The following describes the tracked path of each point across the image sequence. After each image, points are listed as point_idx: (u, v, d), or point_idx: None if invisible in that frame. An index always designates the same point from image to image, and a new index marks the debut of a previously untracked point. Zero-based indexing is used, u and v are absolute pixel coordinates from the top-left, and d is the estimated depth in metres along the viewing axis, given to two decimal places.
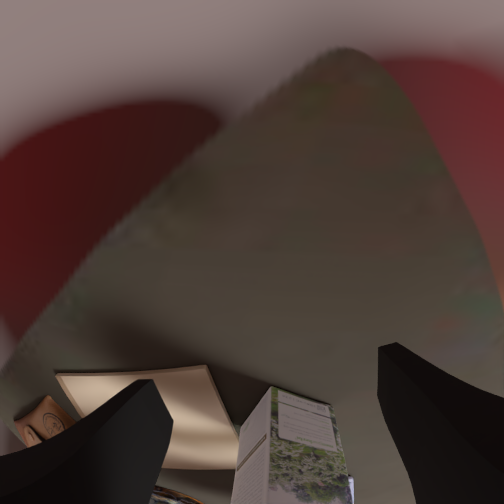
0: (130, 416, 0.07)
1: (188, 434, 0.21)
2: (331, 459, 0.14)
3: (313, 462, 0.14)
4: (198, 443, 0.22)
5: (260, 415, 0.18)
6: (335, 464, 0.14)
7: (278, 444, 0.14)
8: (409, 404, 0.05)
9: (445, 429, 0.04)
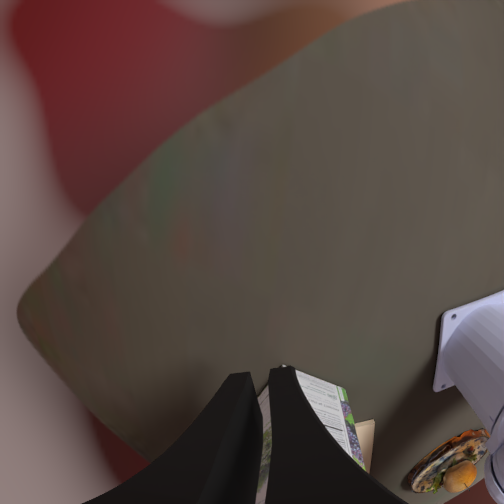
0: (242, 416, 0.06)
1: None
2: (270, 434, 0.14)
3: None
4: None
5: None
6: None
7: None
8: None
9: None
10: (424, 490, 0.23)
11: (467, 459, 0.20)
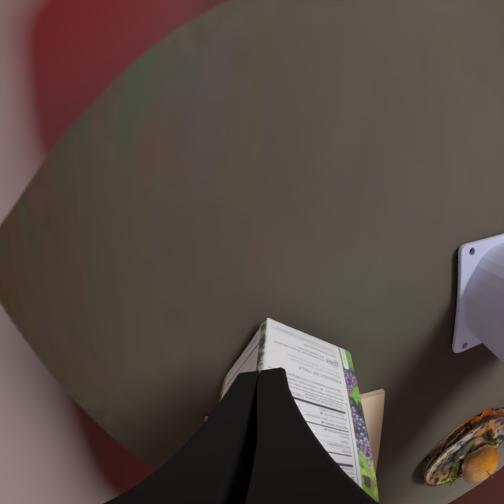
0: (252, 414, 0.06)
1: None
2: None
3: None
4: None
5: None
6: None
7: None
8: None
9: None
10: (438, 482, 0.20)
11: (488, 443, 0.17)
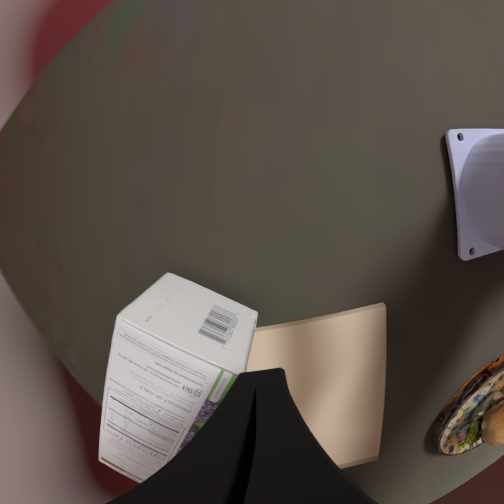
0: (253, 414, 0.06)
1: (297, 381, 0.17)
2: None
3: None
4: (317, 372, 0.17)
5: None
6: None
7: None
8: None
9: None
10: (453, 452, 0.18)
11: None
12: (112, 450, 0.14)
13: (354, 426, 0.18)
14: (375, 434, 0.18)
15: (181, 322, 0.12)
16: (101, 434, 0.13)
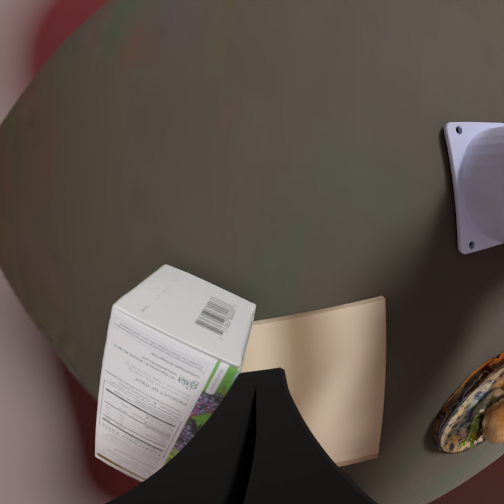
0: (254, 414, 0.06)
1: (295, 376, 0.17)
2: None
3: None
4: (316, 367, 0.17)
5: None
6: None
7: None
8: None
9: None
10: (453, 450, 0.18)
11: None
12: (108, 446, 0.14)
13: (353, 423, 0.18)
14: (375, 431, 0.18)
15: (178, 312, 0.12)
16: (97, 429, 0.13)
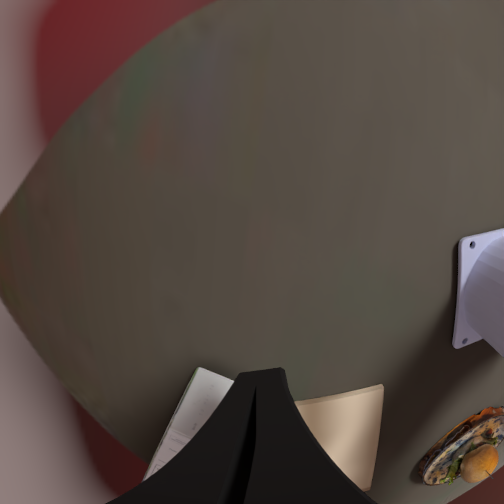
0: (254, 414, 0.06)
1: None
2: (153, 456, 0.15)
3: (158, 445, 0.16)
4: (322, 434, 0.18)
5: None
6: None
7: None
8: None
9: None
10: (436, 482, 0.20)
11: (487, 443, 0.17)
12: None
13: (350, 468, 0.20)
14: (368, 473, 0.20)
15: None
16: None
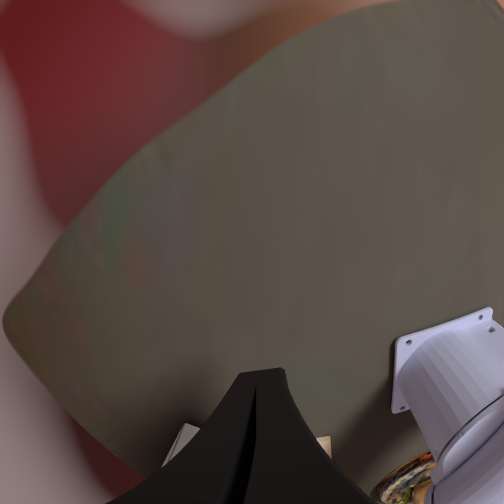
0: (254, 414, 0.06)
1: None
2: None
3: None
4: None
5: None
6: None
7: None
8: None
9: None
10: (396, 502, 0.24)
11: None
12: None
13: None
14: None
15: None
16: None
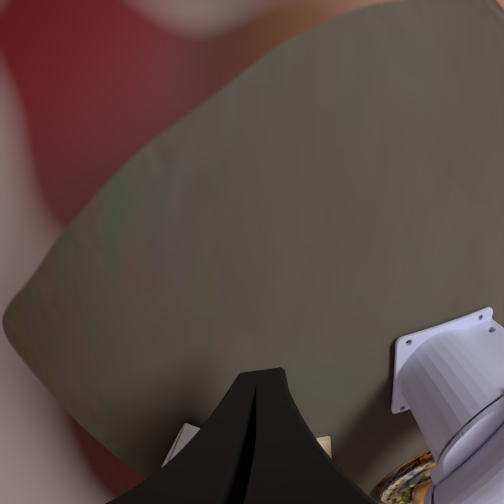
0: (254, 414, 0.06)
1: None
2: None
3: None
4: None
5: None
6: None
7: None
8: None
9: None
10: (396, 502, 0.24)
11: None
12: None
13: None
14: None
15: None
16: None
